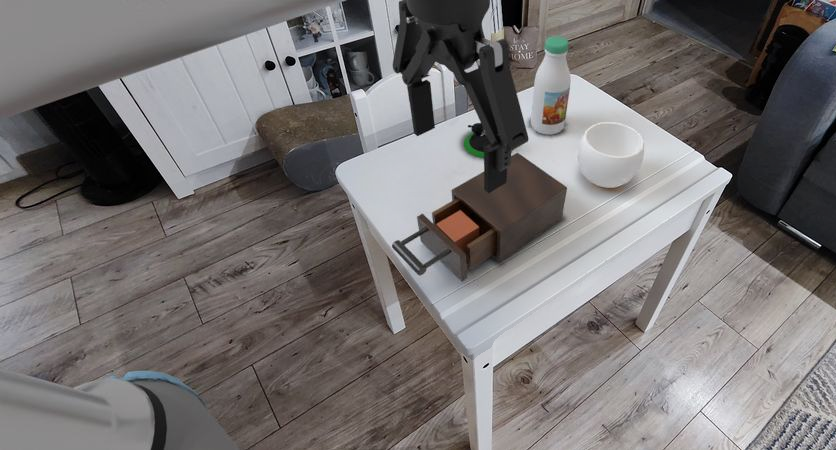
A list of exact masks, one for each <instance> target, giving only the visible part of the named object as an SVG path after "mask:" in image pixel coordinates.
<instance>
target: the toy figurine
mask: <svg viewBox="0 0 836 450" xmlns="http://www.w3.org/2000/svg"><path fill="white" fill-rule="evenodd" d="M467 128H470V131H471V133H469V134H468V135H466V137H465V138H464V140H463V147H464V149H465V151H466V152H467V153H468V154H469V155H472V156H474V157H477V158H481V159H484V143H485V142H487V141H489V139H488V137H487V135H486V133H485V131H484V128H483V126H482V124H481V122H476V123H474V124H468V125H467ZM497 134H499V133H498V132H497Z"/></svg>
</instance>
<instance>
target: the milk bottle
mask: <svg viewBox="0 0 836 450" xmlns="http://www.w3.org/2000/svg"><path fill="white" fill-rule="evenodd" d="M544 42H545V44H544V53H545V54H544V57H543V60H542V62H541V63H540V64H539V67H538V68H537V71H536V72H535V78H534V83H533V94H532V104H531V114H530V115H531V117H530V125H531V127H532V129H533V130H534V131H535V132H537V133H539V134H542V135H555V134H559V133H560V132H562V130H563V129H564V128H565V124H566V119H567V111H568V105H569V99H570V90H571V81H572V80H571V78H572V77H571V72H570V68H569V65H568V62H567V54H568V51H569V46H570V45H569V44H570V43H569V40H568V39H566V38H565V37H564V36H563V37H562V36H558V35H557V36H556V35H555V36H554V35H553V36H550V37H547V39H545V41H544Z"/></svg>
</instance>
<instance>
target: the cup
mask: <svg viewBox="0 0 836 450" xmlns="http://www.w3.org/2000/svg"><path fill="white" fill-rule="evenodd" d="M644 156H645V140H644V139H643V137H642V135H641V133H640V132H639V131H637V130H636V129H634V128H633V127H632V126H629V125H626V124H624V123H621V122H616V121H601V122H598V123H595V124H592V125H590V126H589V127H588V128H587V129H586V130H585V131H584V133H583V135H582V137H581V139H580V142H579V147H578V151H577V160H578V166H579V169H580V172H581V174H582V175H583V177H585V178H586V179H587V181H588V182H589V183H591V184H593V185H595V186H597V187H601V188H606V189H608V188H609V189H611V188H618V187H620V186H623V185H625V184H627V183H629V182H630V181H631V180H632V179H633V178H634V176H636V174H637V173H638V171H639V170H640V169H641V166H642V163H643V160H644Z"/></svg>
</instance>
